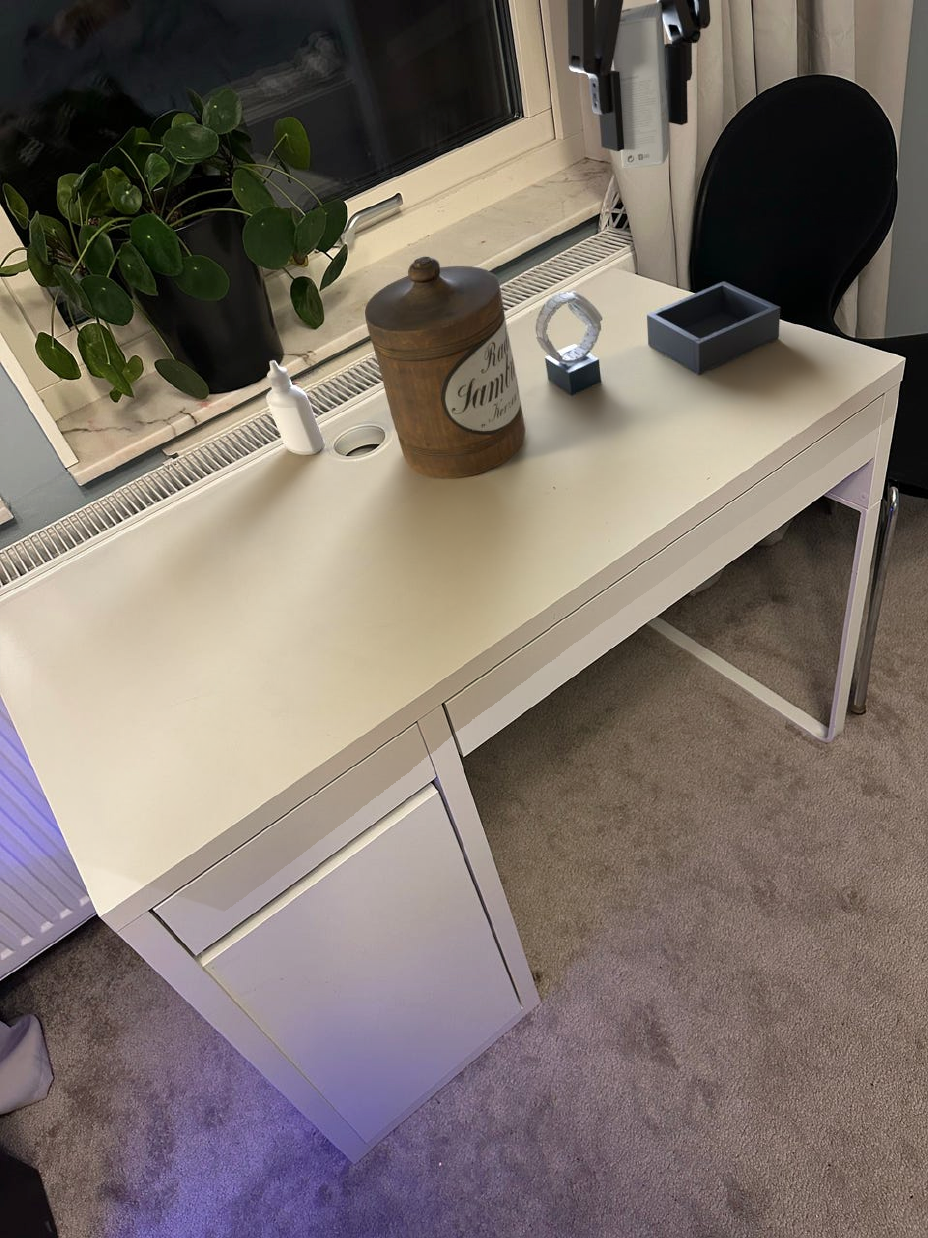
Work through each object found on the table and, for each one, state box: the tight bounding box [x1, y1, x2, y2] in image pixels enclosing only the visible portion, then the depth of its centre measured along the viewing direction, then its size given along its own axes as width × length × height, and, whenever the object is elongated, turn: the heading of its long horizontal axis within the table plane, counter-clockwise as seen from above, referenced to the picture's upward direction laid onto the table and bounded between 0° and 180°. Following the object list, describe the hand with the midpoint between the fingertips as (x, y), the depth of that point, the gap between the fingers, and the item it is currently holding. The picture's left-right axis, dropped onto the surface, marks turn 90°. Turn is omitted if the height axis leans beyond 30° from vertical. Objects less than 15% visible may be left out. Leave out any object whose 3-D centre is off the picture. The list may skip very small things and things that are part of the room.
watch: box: [535, 290, 603, 396], centre depth 102 cm, size 6×8×11 cm
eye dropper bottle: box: [265, 359, 326, 456], centre depth 103 cm, size 4×6×12 cm
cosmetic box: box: [612, 2, 671, 169], centre depth 80 cm, size 6×4×12 cm
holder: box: [646, 280, 781, 376], centre depth 104 cm, size 11×12×4 cm
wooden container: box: [364, 256, 526, 479], centre depth 93 cm, size 15×15×22 cm
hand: (644, 134), depth 83 cm, fingers closed on cosmetic box, 7 cm apart
